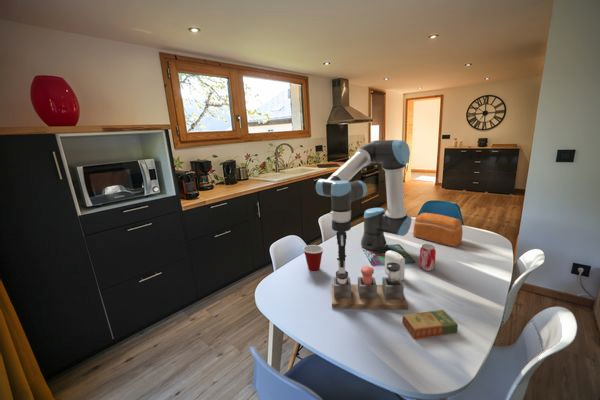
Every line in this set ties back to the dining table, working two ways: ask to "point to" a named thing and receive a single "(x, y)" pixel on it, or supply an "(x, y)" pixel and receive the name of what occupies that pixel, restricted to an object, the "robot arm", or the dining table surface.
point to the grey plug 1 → (342, 277)
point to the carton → (429, 324)
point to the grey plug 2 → (393, 273)
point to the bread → (438, 229)
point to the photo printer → (395, 258)
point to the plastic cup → (313, 256)
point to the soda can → (427, 257)
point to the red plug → (367, 275)
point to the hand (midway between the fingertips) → (341, 272)
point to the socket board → (368, 295)
